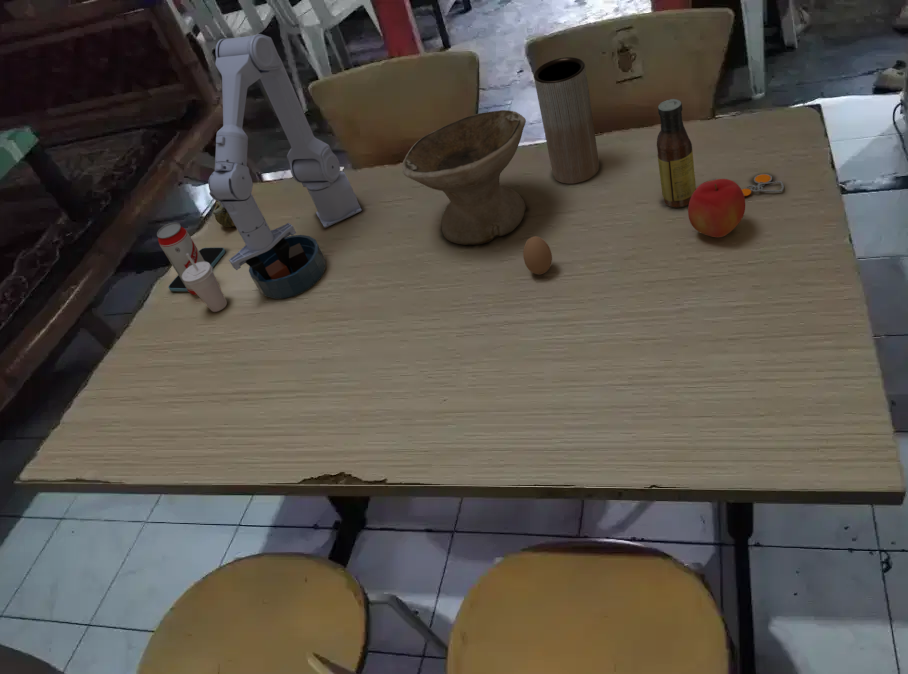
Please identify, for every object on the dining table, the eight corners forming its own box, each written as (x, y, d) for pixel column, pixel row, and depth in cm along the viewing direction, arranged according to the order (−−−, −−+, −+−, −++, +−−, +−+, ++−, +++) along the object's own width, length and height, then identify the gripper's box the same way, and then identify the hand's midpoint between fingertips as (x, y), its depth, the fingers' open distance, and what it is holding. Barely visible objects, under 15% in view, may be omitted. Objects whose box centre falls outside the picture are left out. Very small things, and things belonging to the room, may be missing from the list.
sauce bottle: (701, 192, 142) (697, 95, 128) (689, 211, 139) (684, 114, 125) (668, 188, 145) (661, 94, 131) (656, 207, 142) (647, 112, 128)
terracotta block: (285, 274, 158) (278, 259, 155) (294, 280, 155) (286, 266, 152) (270, 284, 157) (262, 269, 154) (278, 291, 154) (270, 276, 151)
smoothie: (225, 315, 154) (191, 263, 144) (199, 316, 156) (164, 265, 146) (237, 294, 158) (204, 243, 148) (212, 296, 160) (178, 245, 150)
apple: (756, 234, 129) (757, 185, 122) (708, 255, 129) (707, 208, 122) (724, 209, 136) (724, 162, 129) (679, 229, 136) (676, 183, 129)
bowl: (518, 170, 164) (498, 85, 150) (563, 224, 146) (545, 133, 132) (412, 213, 163) (382, 132, 149) (444, 273, 145) (414, 187, 131)
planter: (595, 153, 160) (580, 51, 145) (603, 177, 153) (588, 73, 138) (550, 165, 162) (530, 65, 146) (556, 189, 155) (536, 87, 139)
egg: (535, 284, 135) (527, 250, 130) (522, 271, 139) (514, 238, 133) (560, 272, 136) (552, 238, 130) (546, 259, 140) (538, 225, 134)
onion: (255, 221, 178) (239, 194, 173) (224, 236, 177) (208, 209, 172) (248, 209, 184) (233, 181, 178) (219, 223, 182) (202, 196, 177)
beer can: (222, 279, 164) (188, 221, 152) (207, 298, 160) (172, 240, 149) (200, 278, 166) (165, 220, 155) (184, 296, 162) (148, 238, 151)
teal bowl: (316, 244, 164) (307, 225, 161) (335, 277, 153) (325, 259, 150) (253, 274, 162) (243, 256, 159) (267, 310, 151) (256, 292, 148)
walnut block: (306, 257, 160) (299, 242, 158) (311, 266, 158) (303, 251, 155) (290, 265, 160) (282, 250, 157) (294, 274, 157) (286, 259, 154)
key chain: (782, 173, 139) (782, 169, 138) (784, 196, 134) (784, 192, 134) (711, 179, 143) (711, 175, 143) (711, 201, 139) (710, 197, 138)
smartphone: (225, 247, 172) (191, 288, 162) (227, 251, 172) (193, 292, 163) (201, 247, 174) (166, 288, 165) (203, 251, 175) (168, 292, 166)
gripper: (273, 200, 151) (299, 253, 160) (212, 236, 146) (242, 289, 155) (288, 210, 146) (314, 264, 155) (225, 248, 141) (256, 301, 151)
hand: (279, 277), depth 155 cm, fingers closed on terracotta block, 4 cm apart
